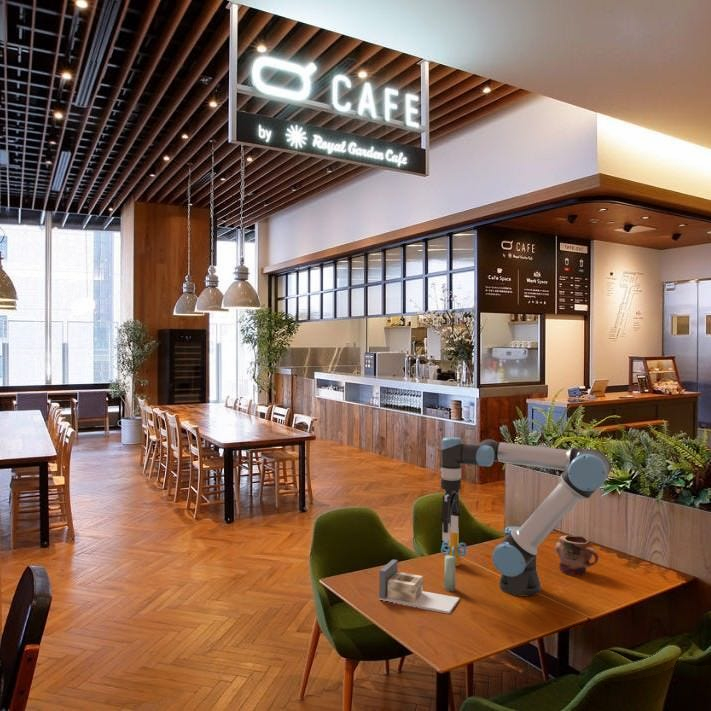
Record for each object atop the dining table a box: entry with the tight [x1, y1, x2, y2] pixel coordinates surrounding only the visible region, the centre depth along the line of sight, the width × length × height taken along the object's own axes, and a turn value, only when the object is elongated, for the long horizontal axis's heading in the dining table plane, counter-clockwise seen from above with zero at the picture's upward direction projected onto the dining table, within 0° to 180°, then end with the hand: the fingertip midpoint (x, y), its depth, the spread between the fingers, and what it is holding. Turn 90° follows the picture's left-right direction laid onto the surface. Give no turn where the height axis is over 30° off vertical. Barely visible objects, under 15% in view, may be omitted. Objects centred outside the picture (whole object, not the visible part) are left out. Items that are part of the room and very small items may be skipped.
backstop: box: [378, 559, 460, 615], centre depth 221 cm, size 26×13×11 cm, turn 65°
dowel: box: [443, 555, 456, 592], centre depth 232 cm, size 4×4×12 cm
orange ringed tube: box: [440, 527, 467, 567], centre depth 259 cm, size 12×10×15 cm
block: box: [387, 571, 424, 602], centre depth 224 cm, size 10×10×6 cm
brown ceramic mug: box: [554, 534, 599, 577], centre depth 250 cm, size 20×12×14 cm, turn 38°
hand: (450, 536), depth 232 cm, fingers open, 10 cm apart
